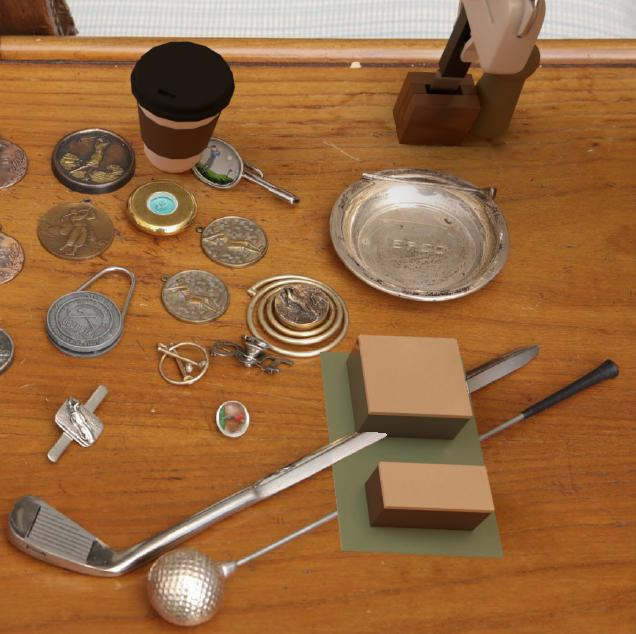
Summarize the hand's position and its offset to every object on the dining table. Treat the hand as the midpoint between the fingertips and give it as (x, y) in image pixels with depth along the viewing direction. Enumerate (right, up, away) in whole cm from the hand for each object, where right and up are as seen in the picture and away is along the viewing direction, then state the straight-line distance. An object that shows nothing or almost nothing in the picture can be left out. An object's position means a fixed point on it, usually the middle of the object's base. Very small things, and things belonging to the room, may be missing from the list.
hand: (464, 45), depth 97 cm
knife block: (0, -7, +10) cm, 12 cm away
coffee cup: (-30, -10, +8) cm, 33 cm away
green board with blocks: (-10, -41, -12) cm, 44 cm away
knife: (0, -6, +10) cm, 12 cm away
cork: (+7, -6, +11) cm, 14 cm away
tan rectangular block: (-10, -46, -16) cm, 49 cm away
